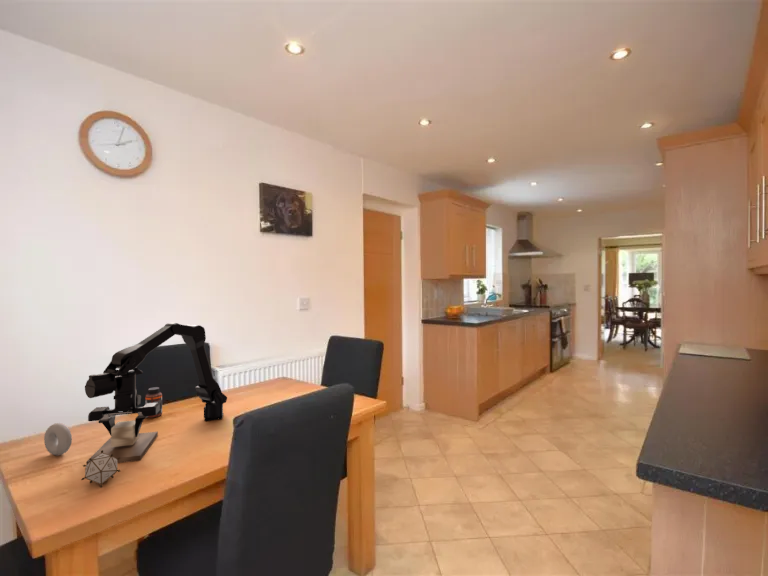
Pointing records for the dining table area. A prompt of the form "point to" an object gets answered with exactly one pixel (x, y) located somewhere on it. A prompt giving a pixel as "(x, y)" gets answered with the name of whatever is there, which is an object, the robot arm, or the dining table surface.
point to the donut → (58, 439)
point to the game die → (101, 468)
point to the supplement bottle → (154, 399)
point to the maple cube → (123, 434)
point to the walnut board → (129, 448)
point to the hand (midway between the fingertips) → (125, 437)
